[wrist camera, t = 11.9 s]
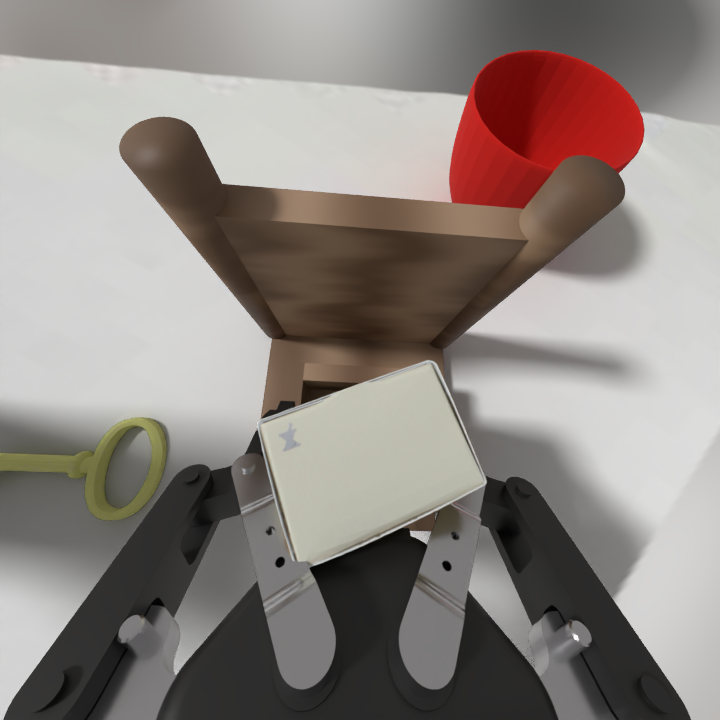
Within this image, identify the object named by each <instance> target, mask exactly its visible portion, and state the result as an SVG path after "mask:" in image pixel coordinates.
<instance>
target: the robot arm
mask: <svg viewBox="0 0 720 720" xmlns="http://www.w3.org/2000/svg"><path fill="white" fill-rule="evenodd" d="M294 407H295V401H280V403H279V405H278V408H277V410H269V411H268V412H267V413H266V414H264V415H263V417H262V419H263V418H266V417H269V416H272V415H275V414H278V413H281V412H283V411H285V410H288V409H291V408H294ZM485 477H486V480H487V484H486V485H485V486H484V487H482V488H480V489H478V490H476V491H474V492H472V493H470V494H468V495H466V496H464V497H463V498H461V499H459V500H457V501H454V502H453V503H451V504H449V505H447V506H445V507H443V508H441V509H439V512H438V514H437V517H436V520H435V523H434V526H433V529H432V532H431V534H430V537H429V540H428V543H427V544H425V543H424V542H422V541H420V540H419V539H416V538H414V537H411V536H410V530H409V528H400V529H398V530H396V531H394V532H392V533H390V534H387V535H385V536H383V537H382V538H379V539H377V540H375V541H373V542H371V543H369V544H366V545H364V546H362V547H359V548H357V549H355V550H353V551H351V552H348V553H346V554H343V555H341V556H339V557H336V558H333V559H331V560H329V561H326V562H324V563H321V564H318V565H315V566H313V567H310V568H309V566H308V563H307V561H293V560H292V558H291V555H290V551H289V548H288V545H287V542H286V539H285V536H284V532H283V529H282V525H281V521H280V518H279V514H278V510H277V507H276V503H275V499H274V495H273V491H272V487H271V483H270V479H269V476H268V471H267V467H266V463H265V459H264V455H263V451H262V446H261V441H260V437H259V433H258V429H257V431H256V432H255V434H254V436H253V438H252V441H251V443H250V445H249V447H248V449H247V451H246V453H245V455H243V456H241V457H240V458H238V459H237V460H236V461H235V462H234V463H233V465H232V466H229V467H226V468H222V469H217V470H213V471H210V469H209V468H208V467H207V466H206V465H202V464H197V465H192V466H189V467H187V468H185V469H183V470H182V471H180V472H179V473H178V474H177V475H176V476H175V477H174V479H173V480H172V482H171V483H170V484H169V486H168V487H167V488H166V490H165V491H164V492H163V494H162V495H161V497H160V498H159V499H158V501H157V502H156V503H155V505H154V506H153V508H152V509H151V510H150V512H149V513H148V514H147V516H146V517H145V519H144V520H143V521H142V523H141V524H140V525H139V527H138V528H137V530H136V531H135V532H134V534H133V535H132V536H131V538H130V539H129V540H128V542H127V543H126V545H125V546H124V547H123V549H122V550H121V551H120V553H119V554H118V556H117V557H116V558H115V560H114V561H113V562H112V564H111V565H110V567H109V568H108V569H107V571H106V572H105V573H104V575H103V576H102V578H101V579H100V580H99V582H98V583H97V584H96V586H95V587H94V588H93V590H92V591H91V593H90V594H89V595H88V597H87V598H86V599H85V601H84V602H83V604H82V605H81V606H80V608H79V609H78V610H77V612H76V613H75V615H74V616H73V617H72V619H71V620H70V621H69V623H68V624H67V625H66V627H65V628H64V630H63V631H62V632H61V634H60V635H59V636H58V638H57V639H56V641H55V642H54V643H53V645H52V646H51V647H50V649H49V650H48V652H47V653H46V654H45V656H44V657H43V658H42V660H41V661H40V663H39V664H38V665H37V667H36V668H35V669H34V671H33V672H32V673H31V675H30V676H29V678H28V679H27V680H26V682H25V683H24V684H23V686H22V687H21V689H20V690H19V691H18V693H17V694H16V696H15V697H14V699H13V700H12V702H11V704H10V706H9V707H8V710H7V712H6V714H5V717H4V720H691V719H690V716H689V714H688V711H687V709H686V707H685V705H684V703H683V702H682V700H681V698H680V697H679V695H678V694H677V693H676V691H675V689H674V688H673V686H672V685H671V684H670V682H669V681H668V679H667V678H666V676H665V675H664V673H663V672H662V670H661V669H660V668H659V666H658V665H657V663H656V662H655V660H654V659H653V657H652V656H651V654H650V653H649V652H648V650H647V649H646V647H645V646H644V644H643V643H642V641H641V640H640V639H639V637H638V635H637V634H636V633H635V631H634V630H633V628H632V627H631V625H630V624H629V622H628V621H627V619H626V618H625V617H624V615H623V614H622V612H621V611H620V609H619V608H618V606H617V605H616V603H615V602H614V600H613V599H612V598H611V596H610V595H609V593H608V592H607V590H606V589H605V587H604V586H603V584H602V583H601V582H600V580H599V579H598V577H597V576H596V574H595V573H594V571H593V570H592V568H591V567H590V565H589V564H588V563H587V561H586V560H585V558H584V557H583V555H582V554H581V552H580V551H579V549H578V548H577V547H576V545H575V544H574V542H573V541H572V539H571V538H570V536H569V535H568V533H567V532H566V531H565V529H564V528H563V526H562V525H561V523H560V522H559V520H558V519H557V517H556V516H555V514H554V513H553V512H552V510H551V509H550V507H549V506H548V504H547V503H546V501H545V500H544V498H543V497H542V496H541V494H540V493H539V491H538V490H537V489H536V488H535V487H534V486H533V485H532V484H531V483H530V482H528V481H526V480H524V479H522V478H519V477H511V478H509V479H507V481H506V483H505V482H502V481H498V480H495V479H492V478H489V477H487V476H485ZM239 514H241V515H242V519H243V523H244V527H245V531H246V535H247V540H248V544H249V548H250V552H251V556H252V560H253V564H254V568H255V573H256V577H257V582H256V583H255V584H254V585H253V587H252V588H251V589H250V590H249V591H248V592H247V593H246V595H245V596H244V597H243V598H242V599H241V600H240V601H239V602H238V604H237V605H236V606H235V607H234V608H233V609H232V610H231V612H230V613H229V614H228V615H227V616H226V617H225V618H224V620H223V621H222V622H221V623H220V624H219V625H218V626H217V628H216V629H215V630H214V631H213V632H212V633H211V634H210V636H209V637H208V638H207V639H206V640H205V641H204V642H203V643H202V645H201V646H200V647H199V648H198V649H197V650H196V651H195V653H194V654H193V655H192V656H191V657H190V658H189V660H188V661H187V662H186V663H185V664H184V666H183V667H182V668H181V670H180V671H179V673H178V674H177V675H175V674H174V667H173V666H174V658H175V654H176V650H177V647H178V644H179V640H180V629H179V626H178V624H177V622H176V621H175V620H174V616H175V614H176V612H177V610H178V608H179V606H180V603H181V601H182V599H183V597H184V595H185V593H186V591H187V589H188V587H189V585H190V582H191V580H192V578H193V576H194V574H195V572H196V570H197V568H198V566H199V564H200V561H201V559H202V557H203V555H204V553H205V551H206V549H207V547H208V545H209V543H210V541H211V538H212V536H213V534H214V532H215V530H216V528H217V526H218V524H219V522H220V520H222V519H225V518H229V517H232V516H236V515H239ZM480 525H483V526H486V527H489V530H490V532H491V534H492V536H493V539H494V541H495V543H496V545H497V548H498V550H499V552H500V554H501V557H502V559H503V561H504V563H505V565H506V568H507V570H508V572H509V574H510V577H511V579H512V581H513V583H514V586H515V588H516V590H517V592H518V595H519V597H520V599H521V601H522V603H523V606H524V608H525V610H526V612H527V615H528V617H529V619H530V621H531V624H532V627H531V628H530V631H529V645H530V649H531V652H532V655H533V659H534V664H535V670H534V668H533V667H532V666H531V664H530V663H529V662H528V661H527V659H526V658H525V657H524V656H523V655H522V654H521V652H520V651H519V650H518V649H517V648H516V647H515V645H514V644H513V643H512V642H511V641H510V639H509V638H508V637H507V636H506V635H505V634H504V632H503V631H502V630H501V629H500V628H499V626H498V625H497V624H496V623H495V622H494V621H493V619H492V618H491V617H490V616H489V615H488V613H487V612H486V611H485V610H484V609H483V608H482V606H481V605H480V604H479V603H478V602H477V601H476V599H475V598H474V597H473V596H472V595H471V593H470V592H469V591H468V587H469V582H470V577H471V572H472V566H473V561H474V556H475V551H476V546H477V541H478V535H479V530H480Z"/></svg>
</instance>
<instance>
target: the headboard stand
mask: <svg viewBox="0 0 720 720" xmlns="http://www.w3.org/2000/svg"><path fill="white" fill-rule="evenodd" d="M119 150H120V155H121V157H122V159H123V160H124V161H125V163H126V164H127V165H128V166H129V168H130V169H131V170H132V171H133V172H134V174H135V175H136V176H137V177H138V179H139V180H140V181H141V182H142V183H143V185H144V186H145V187H146V188H147V190H148V191H149V192H150V193H151V194H152V196H153V197H154V198H155V199H156V201H157V202H158V203H159V204H160V205H161V207H162V208H163V209H164V210H165V212H166V213H167V214H168V215H169V216H170V218H171V219H172V220H173V221H174V223H175V224H176V225H177V226H178V227H179V229H180V230H181V231H182V232H183V234H184V235H185V236H186V237H187V238H188V240H189V241H190V242H191V243H192V245H193V246H194V247H195V248H196V249H197V251H198V252H199V253H200V254H201V256H202V257H203V258H204V259H205V260H206V262H207V263H208V264H209V265H210V267H211V268H212V269H213V270H214V271H215V273H216V274H217V275H218V276H219V278H220V279H221V280H222V281H223V282H224V284H225V285H226V286H227V287H228V289H229V290H230V291H231V292H232V293H233V295H234V296H235V297H236V298H237V300H238V301H239V302H240V303H241V304H242V306H243V307H244V308H245V309H246V311H247V312H248V313H249V314H250V315H251V317H252V318H253V319H254V320H255V322H256V323H257V324H258V325H259V326H260V328H261V329H262V330H263V331H264V333H265V334H266V335H267V336H268V337H270V338H272V343H271V350H270V357H269V365H268V372H267V379H266V386H265V393H264V400H263V407H262V414H261V419H262V417H263V415H264V414H266V413H267V412H268V411H269V410H277V408H278V405H279V403H280V401H295V407H297V406H300V405H302V404H305V403H308V402H311V401H313V400H316V399H319V398H322V397H324V396H327V395H330V394H333V393H335V392H338V391H341V390H343V389H346V388H349V387H352V386H354V385H357V384H360V383H363V382H366V381H369V380H372V379H375V378H377V377H380V376H383V375H386V374H389V373H392V372H394V371H397V370H400V369H403V368H406V367H409V366H412V365H415V364H418V363H421V362H424V361H426V360H431V361H434V362H435V363H437V365H438V367H439V369H440V371H441V373H442V376H443V378H444V365H443V348H446V347H447V346H449V345H450V344H451V343H452V342H453V341H455V340H456V339H457V338H458V337H459V336H461V335H462V334H463V333H464V332H465V331H467V330H468V329H469V328H470V327H471V326H473V325H474V324H475V323H476V322H478V321H479V320H480V319H481V318H482V317H484V316H485V315H486V314H487V313H488V312H490V311H491V310H492V309H493V308H494V307H496V306H497V305H498V304H499V303H500V302H502V301H503V300H504V299H505V298H506V297H508V296H509V295H510V294H511V293H512V292H514V291H515V290H516V289H517V288H519V287H520V286H521V285H522V284H523V283H525V282H526V281H527V280H528V279H529V278H531V277H532V276H533V275H534V274H535V273H537V272H538V271H539V270H540V269H541V268H543V267H544V266H545V265H546V264H547V263H549V262H550V261H551V260H552V259H554V258H555V257H556V256H557V255H558V254H560V253H561V252H562V251H563V250H564V249H566V248H567V247H568V246H569V245H570V244H572V243H573V242H574V241H575V240H576V239H578V238H579V237H580V236H581V235H582V234H584V233H585V232H586V231H587V230H589V229H590V228H591V227H592V226H593V225H595V224H596V223H597V222H598V221H599V220H601V219H602V218H603V217H604V216H605V215H607V214H608V213H609V212H610V211H611V210H613V209H614V208H615V207H616V206H617V205H619V204H620V203H621V202H622V200H623V198H624V195H625V186H624V183H623V180H622V179H621V177H620V175H619V174H618V173H617V172H616V171H615V170H614V169H613V168H612V167H611V166H610V165H608V164H607V163H605V162H603V161H602V160H599V159H597V158H594V157H590V156H585V155H576V156H571V157H568V158H566V159H565V160H563V161H562V162H561V163H560V164H559V166H558V167H557V168H556V169H555V171H554V172H553V173H552V174H551V176H550V177H549V178H548V179H547V181H546V182H545V183H544V184H543V186H542V187H541V188H540V189H539V191H538V192H537V193H536V194H535V196H534V197H533V198H532V199H531V201H530V202H529V203H528V204H527V206H526V207H525V208H524V209H520V208H507V207H495V206H483V205H471V204H459V203H447V202H435V201H422V200H410V199H398V198H386V197H374V196H362V195H349V194H337V193H325V192H313V191H301V190H289V189H276V188H264V187H252V186H240V185H228V184H222V183H221V181H220V179H219V177H218V175H217V173H216V171H215V169H214V167H213V165H212V163H211V161H210V159H209V157H208V155H207V153H206V151H205V149H204V147H203V145H202V143H201V141H200V139H199V137H198V135H197V133H196V131H195V130H194V128H193V127H192V126H190V125H189V124H188V123H186V122H184V121H182V120H179V119H176V118H171V117H156V118H151V119H147V120H144V121H141V122H139V123H137V124H135V125H134V126H132V127H131V128H130V129H129V130H128V131H127V132H126V133H125V134H124V136H123V137H122V139H121V142H120V146H119ZM435 512H439V510H437V511H435ZM435 512H433V513H431V514H429V515H427V516H425V517H423V518H421V519H419V520H417V521H415V522H413V523H411V524H409V525H407V526H405V527H402V528H409V530H410V531H432V529H433V526H434V523H435Z"/></svg>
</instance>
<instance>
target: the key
mask: <svg viewBox="0 0 720 720" xmlns="http://www.w3.org/2000/svg"><path fill="white" fill-rule="evenodd" d="M139 426H141V427H143V428H144V429H145V430H146V431H147V433H148V435H149V438H150V441H151V446H152V460H151V465H150V469H149V472H148V476H147V478H146V480H145V482H144V484H143V486H142V488H141V489H140V491H139V492H138V494H137V495H136V496H135V498H134V499H133V500H132V501H131V502H130V503H129V504H128V505H127V506H125V507H123V508H120V509H119V508H115V507H112V506H111V505H110V504H109V503H108V502H107V500H106V495H105V477H106V472H107V468H108V464H109V461H110V458H111V455H112V453H113V451H114V448H115V446H116V445H117V443H118V442H119V440H120V439H121V437H122V436H123V435H124V434H125V433H126V432H127V431H128V430H129V429H131V428H133V427H139ZM166 454H167V443H166V438H165V435H164V432H163V430H162V428H161V427H160V425H159V424H158V423H156V422H155V421H153V420H152V419H150V418H143V417H142V418H132V419H128V420H124V421H122V422H120V423H118V424H116V425H115V426H113V427H112V428H111V429H110V430H109V431H108V432H107V433H106V434H105V435H104V437H103V438H102V440H101V441H100V443H99V444H98V446H97V448H96V450H95V452H94V454H93V453H92V452H91V451H82V452H79V453H78V454H76V455H75V456H71V455H45V454H20V453H0V472H1V471H32V472H64V473H67V474H68V476H69V477H70V478H75V479H78V478H81V477H84V476H85V475H86V474H87V476H86V483H85V500H86V503H87V507H88V509H89V511H90V512H91V513H92V514H93V515H94V516H95V517H96V518H99V519H101V520H108V521H111V520H120V519H124V518H127V517H129V516H131V515H133V514H135V513H136V512H138V511H139V510H140V509H141V508H142V507H143V506H144V505H145V504H146V503H147V502H148V501H149V499H150V498H151V497H152V495H153V494H154V492H155V491H156V489H157V487H158V485H159V482H160V479H161V477H162V474H163V470H164V467H165V461H166Z"/></svg>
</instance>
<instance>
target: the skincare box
mask: <svg viewBox="0 0 720 720" xmlns="http://www.w3.org/2000/svg"><path fill="white" fill-rule="evenodd" d="M257 429H258V433H259V437H260V441H261V446H262V451H263V455H264V459H265V463H266V467H267V471H268V476H269V479H270V483H271V487H272V491H273V495H274V499H275V503H276V507H277V510H278V514H279V518H280V521H281V525H282V529H283V532H284V536H285V539H286V542H287V545H288V548H289V551H290V555H291V558H292V560H293V561H307V563H308V566H309V568H310V567H313V566H315V565H318V564H321V563H324V562H326V561H329V560H331V559H333V558H336V557H339V556H341V555H343V554H346V553H348V552H351V551H353V550H355V549H357V548H359V547H362V546H364V545H366V544H369V543H371V542H373V541H375V540H377V539H379V538H382V537H383V536H385V535H387V534H390V533H392V532H394V531H396V530H398V529H400V528H402V527H405V526H407V525H409V524H411V523H413V522H415V521H417V520H419V519H421V518H423V517H425V516H427V515H429V514H431V513H433V512H435V511H437V510H439V509H441V508H443V507H445V506H447V505H449V504H451V503H453V502H454V501H457V500H459V499H461V498H463V497H464V496H466V495H468V494H470V493H472V492H474V491H476V490H478V489H480V488H482V487H484V486H485V485H486V484H487V480H486V477H485V474H484V472H483V470H482V468H481V465H480V463H479V461H478V458H477V455H476V453H475V450H474V448H473V445H472V443H471V441H470V439H469V436H468V433H467V431H466V429H465V426H464V424H463V421H462V419H461V417H460V415H459V412H458V410H457V408H456V405H455V403H454V400H453V398H452V396H451V393H450V391H449V389H448V387H447V385H446V382H445V380H444V378H443V376H442V373H441V371H440V369H439V367H438V365H437V363H435V362H434V361H431V360H426V361H424V362H421V363H418V364H415V365H412V366H409V367H406V368H403V369H400V370H397V371H394V372H392V373H389V374H386V375H383V376H380V377H377V378H375V379H372V380H369V381H366V382H363V383H360V384H357V385H354V386H352V387H349V388H346V389H343V390H341V391H338V392H335V393H333V394H330V395H327V396H324V397H322V398H319V399H316V400H313V401H311V402H308V403H305V404H302V405H300V406H297V407H294V408H291V409H288V410H285V411H283V412H281V413H278V414H275V415H272V416H269V417H266V418H263V419H261V420H259V421H258V422H257Z"/></svg>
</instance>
